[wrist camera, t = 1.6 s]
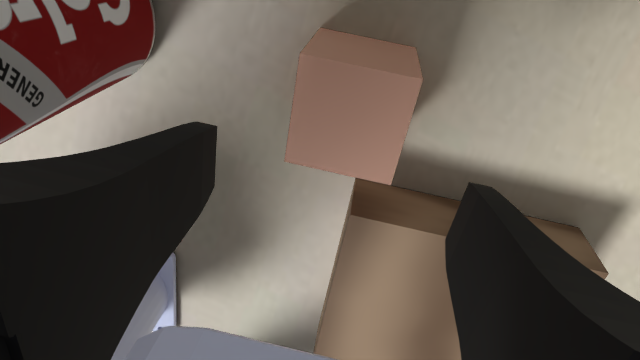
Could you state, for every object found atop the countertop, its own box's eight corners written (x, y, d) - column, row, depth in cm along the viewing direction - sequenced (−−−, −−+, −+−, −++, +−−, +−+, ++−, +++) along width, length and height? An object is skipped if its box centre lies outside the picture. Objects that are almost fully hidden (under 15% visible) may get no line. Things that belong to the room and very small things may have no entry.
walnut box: (318, 326, 29) (309, 371, 26) (355, 177, 23) (350, 214, 20) (492, 367, 28) (504, 418, 25) (579, 227, 22) (608, 273, 19)
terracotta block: (305, 116, 21) (284, 161, 17) (320, 27, 19) (300, 53, 15) (390, 135, 21) (390, 185, 17) (415, 47, 19) (423, 79, 15)
